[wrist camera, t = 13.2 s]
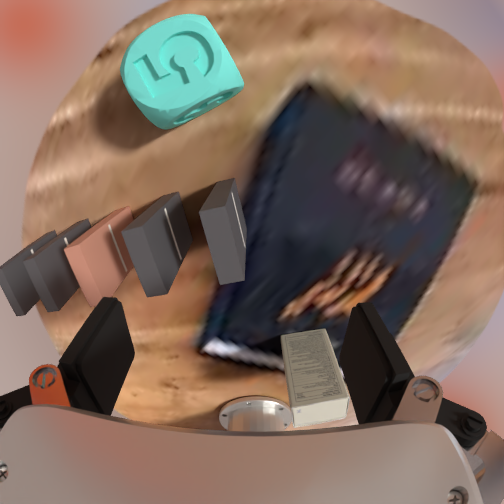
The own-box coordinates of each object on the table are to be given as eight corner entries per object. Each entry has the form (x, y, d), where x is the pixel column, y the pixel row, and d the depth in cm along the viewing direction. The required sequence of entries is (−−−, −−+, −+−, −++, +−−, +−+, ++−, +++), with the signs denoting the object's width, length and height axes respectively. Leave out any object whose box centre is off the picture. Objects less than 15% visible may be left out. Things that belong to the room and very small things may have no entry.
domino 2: (88, 218, 30) (33, 257, 20) (104, 260, 32) (59, 310, 22) (77, 222, 30) (22, 261, 20) (93, 263, 33) (47, 312, 23)
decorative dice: (141, 69, 24) (107, 54, 16) (209, 30, 22) (196, 0, 15) (175, 130, 27) (149, 132, 19) (246, 92, 25) (244, 78, 18)
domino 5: (234, 177, 29) (225, 205, 19) (246, 228, 31) (244, 280, 21) (217, 181, 29) (198, 212, 19) (229, 232, 31) (219, 284, 21)
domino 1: (55, 230, 31) (1, 268, 21) (70, 268, 33) (25, 315, 23) (46, 233, 31) (-7, 271, 21) (61, 270, 33) (16, 316, 23)
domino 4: (178, 191, 29) (142, 226, 19) (193, 240, 31) (167, 294, 21) (162, 195, 29) (120, 231, 19) (177, 243, 32) (146, 297, 22)
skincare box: (282, 356, 39) (290, 429, 27) (280, 333, 37) (288, 408, 26) (326, 350, 38) (346, 419, 27) (327, 326, 36) (350, 397, 25)
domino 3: (129, 205, 30) (79, 244, 20) (145, 251, 32) (106, 304, 22) (115, 210, 30) (63, 249, 20) (131, 254, 32) (90, 306, 22)
